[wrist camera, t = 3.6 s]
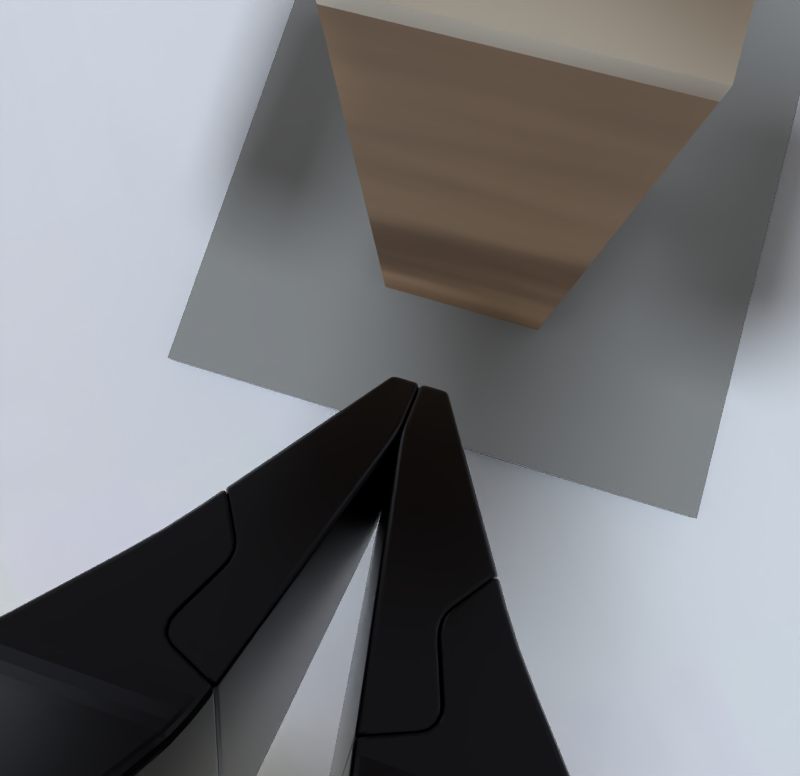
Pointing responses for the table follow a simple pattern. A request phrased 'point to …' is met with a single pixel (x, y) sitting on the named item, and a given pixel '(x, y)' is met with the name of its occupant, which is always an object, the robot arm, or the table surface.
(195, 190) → the table surface
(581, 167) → the walnut block
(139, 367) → the table surface
